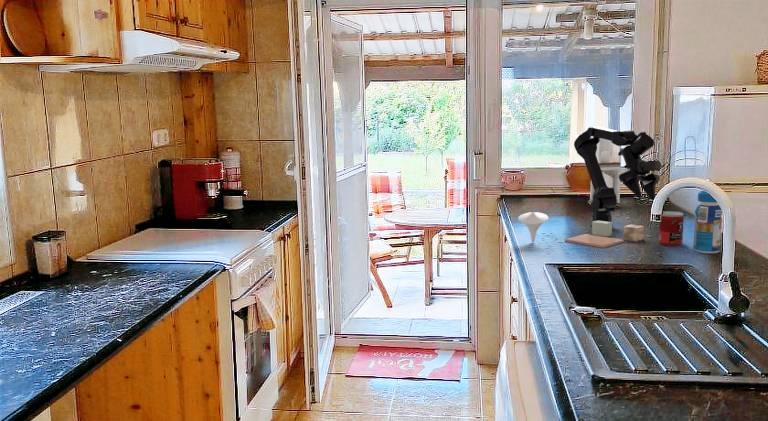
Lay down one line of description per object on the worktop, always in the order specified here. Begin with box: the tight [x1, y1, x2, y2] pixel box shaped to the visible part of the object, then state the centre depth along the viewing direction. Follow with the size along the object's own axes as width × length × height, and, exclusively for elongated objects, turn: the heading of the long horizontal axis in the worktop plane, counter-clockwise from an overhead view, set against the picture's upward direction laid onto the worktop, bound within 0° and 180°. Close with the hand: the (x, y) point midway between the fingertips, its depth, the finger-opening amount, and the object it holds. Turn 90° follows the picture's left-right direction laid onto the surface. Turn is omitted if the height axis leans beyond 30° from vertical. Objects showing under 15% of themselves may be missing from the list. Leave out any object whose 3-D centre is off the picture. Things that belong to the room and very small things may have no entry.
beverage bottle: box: [692, 190, 723, 254], centre depth 221 cm, size 8×8×20 cm
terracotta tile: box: [564, 233, 625, 249], centre depth 242 cm, size 16×13×1 cm
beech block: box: [622, 224, 645, 242], centre depth 243 cm, size 5×5×5 cm
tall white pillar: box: [587, 136, 622, 208], centre depth 317 cm, size 11×11×35 cm
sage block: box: [591, 220, 613, 237], centre depth 253 cm, size 6×4×5 cm, turn 40°
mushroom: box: [517, 210, 549, 244], centre depth 242 cm, size 10×11×12 cm
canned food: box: [658, 210, 685, 247], centre depth 234 cm, size 8×8×11 cm
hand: (647, 198), depth 243 cm, fingers open, 9 cm apart
